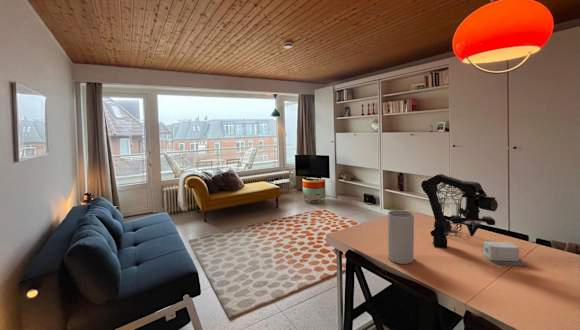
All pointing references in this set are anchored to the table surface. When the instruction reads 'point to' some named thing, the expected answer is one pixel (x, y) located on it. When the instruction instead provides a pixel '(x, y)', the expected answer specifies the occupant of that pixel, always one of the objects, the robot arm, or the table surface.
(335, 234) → the table surface
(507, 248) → the supplement box
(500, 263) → the mat
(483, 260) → the table surface
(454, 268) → the table surface
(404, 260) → the cylinder vase
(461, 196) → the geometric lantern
